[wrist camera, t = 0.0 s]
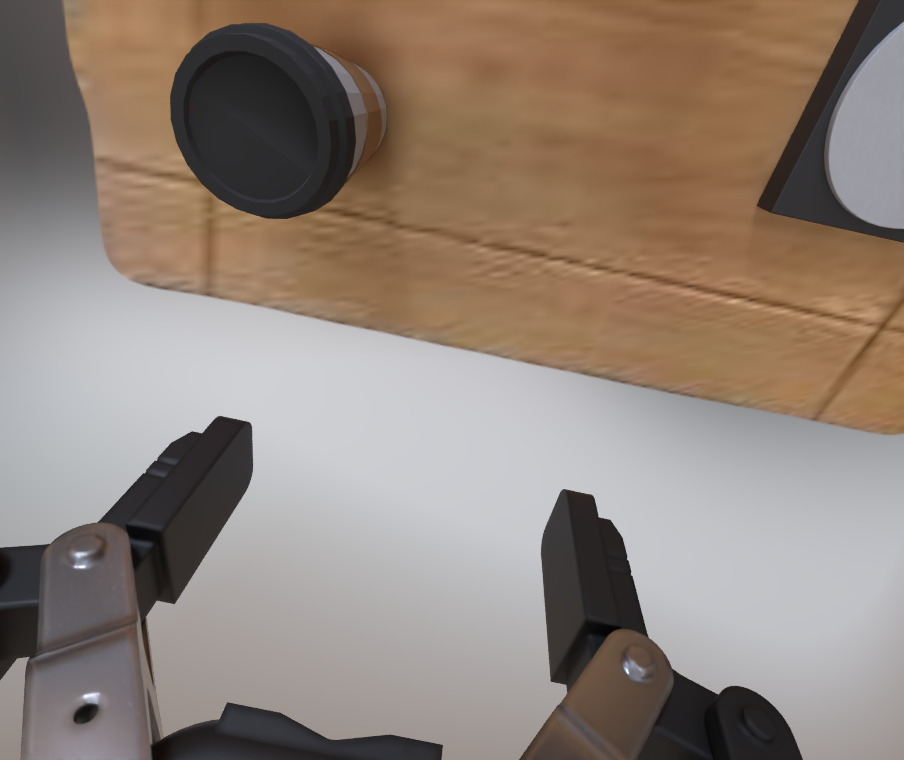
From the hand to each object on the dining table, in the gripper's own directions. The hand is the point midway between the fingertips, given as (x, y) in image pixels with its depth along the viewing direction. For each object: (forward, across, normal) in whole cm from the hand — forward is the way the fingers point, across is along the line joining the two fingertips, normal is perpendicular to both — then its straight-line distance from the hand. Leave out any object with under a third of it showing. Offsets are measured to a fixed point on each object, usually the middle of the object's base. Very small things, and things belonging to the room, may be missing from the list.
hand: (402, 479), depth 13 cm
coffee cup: (+30, +10, -5) cm, 32 cm away
